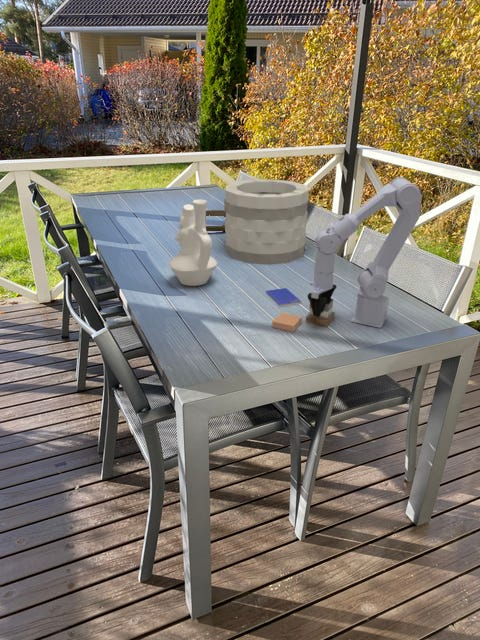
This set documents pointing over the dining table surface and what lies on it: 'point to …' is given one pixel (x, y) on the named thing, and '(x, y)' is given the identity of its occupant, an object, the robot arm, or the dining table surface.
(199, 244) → the double spout vessel
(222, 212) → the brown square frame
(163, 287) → the dining table surface
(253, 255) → the storage basket
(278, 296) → the hard drive
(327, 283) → the robot arm
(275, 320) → the stand
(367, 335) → the dining table surface
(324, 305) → the block
